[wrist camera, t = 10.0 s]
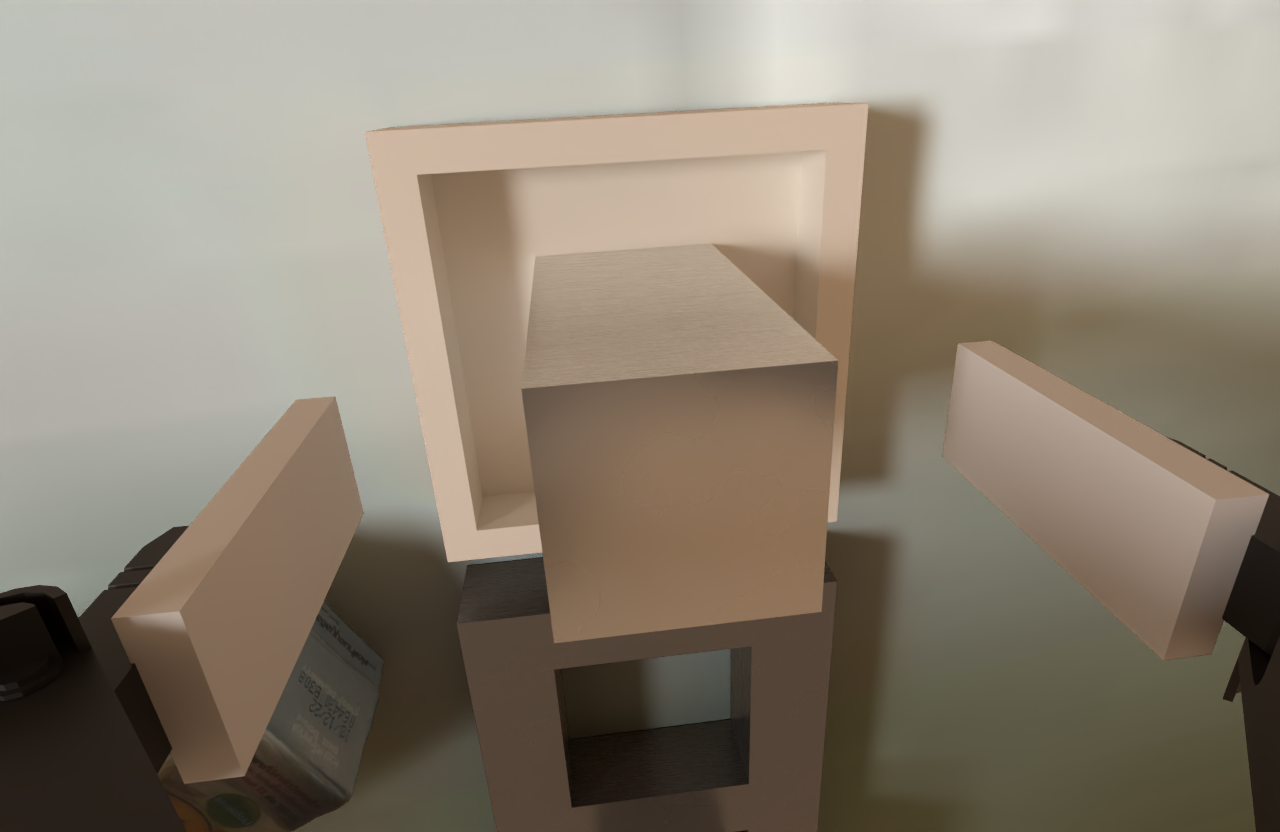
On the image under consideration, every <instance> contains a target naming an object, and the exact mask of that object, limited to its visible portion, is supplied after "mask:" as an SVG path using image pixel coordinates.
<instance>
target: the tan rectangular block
mask: <svg viewBox="0 0 1280 832" xmlns="http://www.w3.org/2000/svg"><path fill="white" fill-rule="evenodd" d="M837 373H838V360H837V359H836V358H835V357H834V356H833V355H832V354H831V353H830V352H828V351H827V350H826V349H825V348H824V347H823V346H822V345H821V344H820V343H819V342H818V341H816V340H815V339H814V338H813V337H812V336H811V335H810V334H809V333H808V332H807V331H806V330H805V329H803V328H802V327H801V326H800V325H799V324H798V323H797V322H796V321H795V320H794V319H793V318H792V317H790V316H789V315H788V314H787V313H786V312H785V311H784V310H783V309H782V308H781V307H780V306H779V305H777V304H776V303H775V302H774V301H773V300H772V299H771V298H770V297H769V296H768V295H767V294H766V293H764V292H763V291H762V290H761V289H760V288H759V287H758V286H757V285H756V284H755V283H754V282H752V281H751V280H750V279H749V278H748V277H747V276H746V275H745V274H744V273H743V272H742V271H741V270H739V269H738V268H737V267H736V266H735V265H734V264H733V263H732V262H731V261H730V260H729V259H728V258H726V257H725V256H724V255H723V254H722V253H721V252H720V251H719V250H718V249H717V248H716V247H715V246H713V245H712V244H698V245H684V246H671V247H657V248H644V249H630V250H617V251H603V252H590V253H577V254H563V255H550V256H536V257H535V265H534V274H533V284H532V293H531V302H530V312H529V321H528V330H527V340H526V349H525V358H524V368H523V377H522V387H521V391H522V398H523V406H524V414H525V422H526V429H527V437H528V445H529V452H530V460H531V468H532V476H533V483H534V491H535V499H536V507H537V514H538V522H539V530H540V537H541V545H542V553H543V561H544V568H545V576H546V584H547V592H548V599H549V607H550V615H551V622H552V630H553V638H554V643H561V642H570V641H578V640H587V639H595V638H604V637H612V636H621V635H629V634H638V633H646V632H655V631H663V630H672V629H680V628H689V627H697V626H706V625H714V624H723V623H731V622H739V621H748V620H756V619H765V618H773V617H782V616H790V615H799V614H807V613H816V612H822V598H823V583H824V568H825V553H826V538H827V523H828V508H829V493H830V478H831V463H832V448H833V433H834V418H835V403H836V388H837Z"/></svg>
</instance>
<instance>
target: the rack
mask: <svg viewBox="0 0 1280 832" xmlns="http://www.w3.org/2000/svg"><path fill="white" fill-rule="evenodd" d="M836 591H837V580H836V578H835V577H834V575H833V573H832V572H831V570H830V568H829V567H828V565H827V563H826V561H825V568H824V583H823V598H822V612H816V613H807V614H799V615H790V616H782V617H773V618H765V619H756V620H748V621H739V622H731V623H723V624H714V625H706V626H697V627H689V628H680V629H672V630H663V631H655V632H646V633H638V634H629V635H621V636H612V637H604V638H595V639H587V640H578V641H570V642H561V643H554V638H553V630H552V622H551V615H550V607H549V599H548V592H547V584H546V576H545V568H544V561H543V558H535V559H526V560H516V561H507V562H497V563H488V564H479V565H469V566H467V569H466V574H465V580H464V585H463V591H462V596H461V602H460V607H459V613H458V618H457V629H458V634H459V640H460V645H461V650H462V655H463V660H464V665H465V670H466V675H467V681H468V686H469V691H470V696H471V701H472V706H473V711H474V716H475V722H476V727H477V732H478V737H479V742H480V747H481V752H482V757H483V763H484V768H485V773H486V778H487V783H488V788H489V793H490V798H491V804H492V809H493V814H494V819H495V824H496V829H497V832H817V830H818V817H819V805H820V792H821V779H822V767H823V754H824V742H825V729H826V716H827V704H828V691H829V679H830V666H831V654H832V641H833V628H834V616H835V603H836ZM723 649H731V719H730V720H722V721H714V722H706V723H698V724H691V725H683V726H675V727H667V728H659V729H651V730H643V731H635V732H627V733H619V734H612V735H604V736H596V737H588V738H580V739H572V740H570V737H569V729H568V721H567V713H566V705H565V697H564V689H563V681H562V672H561V669H563V668H572V667H580V666H588V665H597V664H605V663H614V662H622V661H631V660H639V659H648V658H656V657H664V656H673V655H681V654H690V653H698V652H707V651H715V650H723Z"/></svg>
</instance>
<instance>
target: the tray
mask: <svg viewBox="0 0 1280 832" xmlns="http://www.w3.org/2000/svg"><path fill="white" fill-rule="evenodd" d="M867 117H868V104H863V103H819V104H801V105H783V106H765V107H747V108H729V109H712V110H694V111H676V112H658V113H640V114H622V115H604V116H586V117H568V118H550V119H533V120H515V121H497V122H479V123H461V124H443V125H425V126H407V127H389V128H383V129H378V130H373V131H367V132H365V135H366V141H367V146H368V151H369V156H370V161H371V166H372V172H373V177H374V182H375V187H376V192H377V198H378V203H379V208H380V213H381V218H382V224H383V229H384V234H385V239H386V244H387V249H388V255H389V260H390V265H391V270H392V275H393V281H394V286H395V291H396V296H397V301H398V307H399V312H400V317H401V322H402V327H403V332H404V338H405V343H406V348H407V353H408V358H409V364H410V369H411V374H412V379H413V384H414V390H415V395H416V400H417V405H418V410H419V416H420V421H421V426H422V431H423V436H424V441H425V447H426V452H427V457H428V462H429V467H430V473H431V478H432V483H433V488H434V493H435V499H436V504H437V509H438V514H439V519H440V524H441V530H442V535H443V540H444V545H445V550H446V556H447V561H448V562H455V561H465V560H474V559H484V558H493V557H503V556H512V555H522V554H531V553H541V552H542V545H541V537H540V530H539V522H538V514H537V507H536V499H535V491H534V483H533V476H532V468H531V460H530V452H529V445H528V437H527V429H526V422H525V414H524V406H523V398H522V391H521V387H522V377H523V368H524V358H525V349H526V340H527V330H528V321H529V312H530V302H531V293H532V284H533V274H534V265H535V257H536V256H550V255H563V254H577V253H590V252H603V251H617V250H630V249H644V248H657V247H671V246H684V245H698V244H712V245H713V246H715V247H716V248H717V249H718V250H719V251H720V252H721V253H722V254H723V255H724V256H725V257H726V258H728V259H729V260H730V261H731V262H732V263H733V264H734V265H735V266H736V267H737V268H738V269H739V270H741V271H742V272H743V273H744V274H745V275H746V276H747V277H748V278H749V279H750V280H751V281H752V282H754V283H755V284H756V285H757V286H758V287H759V288H760V289H761V290H762V291H763V292H764V293H766V294H767V295H768V296H769V297H770V298H771V299H772V300H773V301H774V302H775V303H776V304H777V305H779V306H780V307H781V308H782V309H783V310H784V311H785V312H786V313H787V314H788V315H789V316H790V317H792V318H793V319H794V320H795V321H796V322H797V323H798V324H799V325H800V326H801V327H802V328H803V329H805V330H806V331H807V332H808V333H809V334H810V335H811V336H812V337H813V338H814V339H815V340H816V341H818V342H819V343H820V344H821V345H822V346H823V347H824V348H825V349H826V350H827V351H828V352H830V353H831V354H832V355H833V356H834V357H835V358H836V359H837V360H838V373H837V388H836V403H835V418H834V433H833V448H832V463H831V478H830V493H829V508H828V522H836V521H837V512H838V499H839V485H840V472H841V459H842V446H843V433H844V420H845V406H846V393H847V380H848V367H849V354H850V341H851V327H852V314H853V301H854V288H855V275H856V262H857V249H858V235H859V222H860V209H861V196H862V183H863V170H864V156H865V143H866V130H867Z"/></svg>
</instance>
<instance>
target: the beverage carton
mask: <svg viewBox="0 0 1280 832" xmlns="http://www.w3.org/2000/svg"><path fill="white" fill-rule="evenodd" d="M78 618H79V617H78ZM383 667H384V661H383V660H382V658H381V657H380V656H379V655H378V654H377V653H375V652H374V651H373V650H372V649H371V648H370V647H369V646H367V645H366V644H365V643H364V642H363V641H362V640H361V639H360V638H359V637H358V636H357V635H356V634H355V633H354V632H353V631H352V630H351V629H350V628H349V627H348V626H347V625H346V624H345V623H344V622H343V621H342V620H341V619H340V618H339V617H338V616H337V615H336V614H335V613H334V612H333V611H332V610H331V609H330V608H329V607H328V605H327V604H326V603H325V602H323V604H322V606H321V608H320V611H319V613H318V615H317V617H316V619H315V622H314V624H313V626H312V628H311V631H310V633H309V635H308V637H307V639H306V642H305V644H304V646H303V648H302V650H301V653H300V655H299V657H298V659H297V661H296V664H295V666H294V668H293V670H292V672H291V675H290V677H289V679H288V681H287V683H286V686H285V688H284V690H283V692H282V694H281V697H280V699H279V701H278V703H277V705H276V708H275V710H274V712H273V714H272V717H271V719H270V721H269V723H268V725H267V728H266V730H265V732H264V734H263V736H262V739H261V741H260V743H259V745H258V747H257V750H256V752H255V754H254V756H253V758H252V761H251V763H250V765H249V767H248V769H247V772H246V774H245V776H243V777H235V778H227V779H219V780H211V781H203V782H195V783H187V784H184V782H183V780H182V777H181V775H180V773H179V771H178V768H177V766H176V764H175V762H174V759H173V757H172V755H171V753H169V755H168V757H167V759H166V760H165V762H164V764H163V765H162V767H161V769H160V771H159V772H158V774H157V775H158V777H159V779H160V781H161V783H162V784H163V786H164V788H165V790H166V792H167V794H168V796H169V798H170V800H171V802H172V804H173V806H174V808H175V810H176V812H177V814H178V815H179V817H180V819H181V821H182V823H183V825H184V827H185V829H186V831H187V832H291V831H293V830H295V829H297V828H299V827H301V826H303V825H305V824H307V823H308V822H310V821H311V820H313V819H315V818H316V817H319V816H321V815H324V814H326V813H329V812H332V811H334V810H336V809H338V808H339V807H341V806H342V805H344V804H345V803H347V802H348V801H349V800H350V798H351V796H352V794H353V789H354V786H355V782H356V778H357V775H358V771H359V766H360V761H361V757H362V753H363V749H364V746H365V743H366V741H367V738H368V735H369V732H370V729H371V726H372V724H373V718H374V712H375V709H376V707H377V704H378V702H379V686H380V681H381V676H382V672H383Z"/></svg>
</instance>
